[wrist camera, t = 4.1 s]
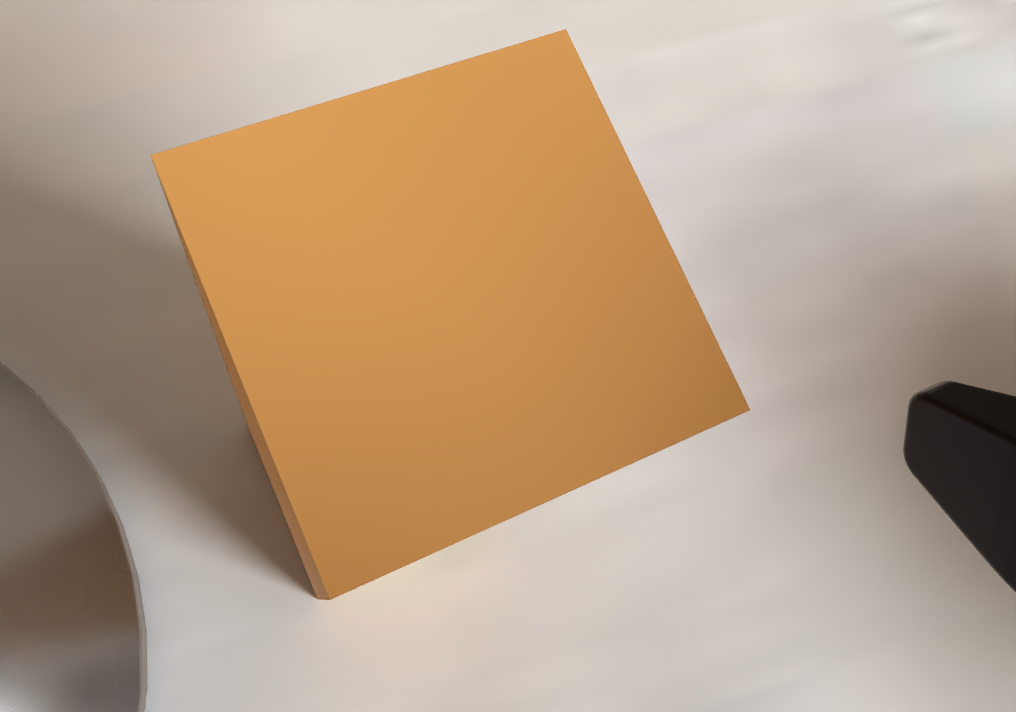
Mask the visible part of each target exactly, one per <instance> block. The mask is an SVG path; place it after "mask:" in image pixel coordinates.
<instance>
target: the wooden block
mask: <svg viewBox="0 0 1016 712" xmlns="http://www.w3.org/2000/svg"><path fill="white" fill-rule="evenodd" d="M151 158H152V161H153V164H154V166H155V169H156V172H157V175H158V177H159V180H160V183H161V186H162V189H163V191H164V194H165V197H166V200H167V202H168V205H169V208H170V211H171V214H172V216H173V219H174V222H175V225H176V227H177V230H178V233H179V236H180V239H181V241H182V244H183V247H184V250H185V253H186V255H187V258H188V261H189V264H190V266H191V269H192V272H193V275H194V278H195V280H196V283H197V286H198V289H199V291H200V294H201V297H202V300H203V303H204V305H205V308H206V311H207V314H208V316H209V319H210V322H211V325H212V328H213V330H214V333H215V336H216V339H217V342H218V344H219V347H220V350H221V353H222V355H223V358H224V361H225V364H226V367H227V369H228V372H229V375H230V378H231V380H232V383H233V386H234V389H235V392H236V394H237V397H238V400H239V403H240V405H241V408H242V411H243V414H244V417H245V419H246V422H247V425H248V427H249V430H250V432H251V435H252V437H253V440H254V442H255V445H256V447H257V450H258V452H259V455H260V457H261V460H262V462H263V465H264V467H265V470H266V472H267V475H268V477H269V480H270V482H271V485H272V487H273V490H274V492H275V495H276V497H277V500H278V502H279V505H280V507H281V510H282V512H283V515H284V517H285V520H286V522H287V525H288V527H289V530H290V532H291V535H292V537H293V539H294V542H295V544H296V547H297V549H298V552H299V554H300V557H301V559H302V562H303V564H304V567H305V569H306V572H307V574H308V577H309V579H310V582H311V584H312V587H313V589H314V592H315V594H316V597H317V599H323V600H331V599H333V598H335V597H337V596H339V595H342V594H344V593H346V592H348V591H350V590H353V589H355V588H357V587H359V586H362V585H364V584H366V583H368V582H370V581H373V580H375V579H377V578H379V577H381V576H384V575H386V574H388V573H390V572H393V571H395V570H397V569H399V568H401V567H404V566H406V565H408V564H410V563H412V562H415V561H417V560H419V559H421V558H424V557H426V556H428V555H430V554H432V553H435V552H437V551H439V550H441V549H443V548H446V547H448V546H450V545H452V544H455V543H457V542H459V541H461V540H463V539H466V538H468V537H470V536H472V535H474V534H477V533H479V532H481V531H483V530H486V529H488V528H490V527H492V526H494V525H497V524H499V523H501V522H503V521H505V520H508V519H510V518H512V517H514V516H517V515H519V514H521V513H523V512H525V511H528V510H530V509H532V508H534V507H536V506H539V505H541V504H543V503H545V502H547V501H550V500H552V499H554V498H556V497H559V496H561V495H563V494H565V493H567V492H570V491H572V490H574V489H576V488H578V487H581V486H583V485H585V484H587V483H590V482H592V481H594V480H596V479H598V478H601V477H603V476H605V475H607V474H609V473H612V472H614V471H616V470H618V469H621V468H623V467H625V466H627V465H629V464H632V463H634V462H636V461H638V460H640V459H643V458H645V457H647V456H649V455H652V454H654V453H656V452H658V451H660V450H663V449H665V448H667V447H669V446H671V445H674V444H676V443H678V442H680V441H683V440H685V439H687V438H689V437H691V436H694V435H696V434H698V433H700V432H702V431H705V430H707V429H709V428H711V427H714V426H716V425H718V424H720V423H722V422H725V421H727V420H729V419H731V418H733V417H736V416H738V415H740V414H742V413H745V412H747V411H749V410H750V409H749V407H748V404H747V402H746V400H745V398H744V396H743V394H742V392H741V390H740V388H739V386H738V384H737V382H736V380H735V378H734V376H733V373H732V371H731V369H730V367H729V365H728V363H727V361H726V359H725V357H724V355H723V353H722V351H721V349H720V347H719V345H718V343H717V340H716V338H715V336H714V334H713V332H712V330H711V328H710V326H709V324H708V322H707V320H706V318H705V316H704V314H703V312H702V309H701V307H700V305H699V303H698V301H697V299H696V297H695V295H694V293H693V291H692V289H691V287H690V285H689V283H688V281H687V278H686V276H685V274H684V272H683V270H682V268H681V266H680V264H679V262H678V260H677V258H676V256H675V254H674V252H673V250H672V248H671V245H670V243H669V241H668V239H667V237H666V235H665V233H664V231H663V229H662V227H661V225H660V223H659V221H658V219H657V217H656V214H655V212H654V210H653V208H652V206H651V204H650V202H649V200H648V198H647V196H646V194H645V192H644V190H643V188H642V186H641V184H640V181H639V179H638V177H637V175H636V173H635V171H634V169H633V167H632V165H631V163H630V161H629V159H628V157H627V155H626V153H625V150H624V148H623V146H622V144H621V142H620V140H619V138H618V136H617V134H616V132H615V130H614V128H613V126H612V124H611V122H610V119H609V117H608V115H607V113H606V111H605V109H604V107H603V105H602V103H601V101H600V99H599V97H598V95H597V93H596V91H595V89H594V86H593V84H592V82H591V80H590V78H589V76H588V74H587V72H586V70H585V68H584V66H583V64H582V62H581V60H580V58H579V55H578V53H577V51H576V49H575V47H574V45H573V43H572V41H571V39H570V37H569V35H568V33H567V31H566V29H565V30H562V31H558V32H555V33H552V34H549V35H545V36H542V37H539V38H535V39H532V40H529V41H525V42H522V43H519V44H516V45H512V46H509V47H506V48H502V49H499V50H496V51H492V52H489V53H486V54H483V55H479V56H476V57H473V58H469V59H466V60H463V61H459V62H456V63H453V64H450V65H446V66H443V67H440V68H436V69H433V70H430V71H426V72H423V73H420V74H417V75H413V76H410V77H407V78H403V79H400V80H397V81H394V82H390V83H387V84H384V85H380V86H377V87H374V88H370V89H367V90H364V91H361V92H357V93H354V94H351V95H347V96H344V97H341V98H337V99H334V100H331V101H328V102H324V103H321V104H318V105H314V106H311V107H308V108H304V109H301V110H298V111H295V112H291V113H288V114H285V115H281V116H278V117H275V118H271V119H268V120H265V121H262V122H258V123H255V124H252V125H248V126H245V127H242V128H238V129H235V130H232V131H229V132H225V133H222V134H219V135H215V136H212V137H209V138H206V139H202V140H199V141H196V142H192V143H189V144H186V145H182V146H179V147H176V148H173V149H169V150H166V151H163V152H159V153H156V154H153V155H151Z"/></svg>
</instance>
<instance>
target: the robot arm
mask: <svg viewBox="0 0 1016 712" xmlns="http://www.w3.org/2000/svg"><path fill="white" fill-rule="evenodd" d="M903 453H904V458H905V461H906V463H907V466H908V467H909V469H910V471H911V472H912V474H913V475H914V476H915V477H916V478H917V480H918V481H919V482H920V483H921V484H922V485H923V487H924V488H925V489H926V490H927V491H928V493H929V494H930V495H931V496H932V497H933V498H934V500H935V501H936V502H937V503H938V504H939V505H940V507H941V508H942V509H943V510H944V511H945V513H946V514H947V515H948V516H949V517H950V518H951V520H952V521H953V522H954V523H955V524H956V526H957V527H958V528H959V529H960V530H961V531H962V533H963V534H964V535H965V536H966V537H967V538H968V540H969V541H970V542H971V543H972V544H973V546H974V547H975V548H976V549H977V550H978V551H979V553H980V554H981V555H982V556H983V557H984V558H985V560H986V561H987V562H988V563H989V564H990V565H991V566H992V568H993V569H994V570H995V571H996V572H997V573H998V574H999V575H1000V576H1001V578H1002V579H1003V580H1004V581H1005V582H1006V583H1007V584H1008V585H1009V586H1010V587H1011V588H1012V589H1013V590H1014V591H1015V592H1016V396H1012V395H1007V394H1003V393H999V392H995V391H991V390H986V389H982V388H978V387H974V386H969V385H965V384H961V383H957V382H951V381H944V382H940V383H937V384H935V385H933V386H930V387H928V388H926V389H924V390H922V391H920V392H918V393H916V394H915V395H913V397H912V398H911V400H910V402H909V406H908V414H907V422H906V431H905V439H904V447H903Z"/></svg>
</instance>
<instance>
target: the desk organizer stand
mask: <svg viewBox="0 0 1016 712" xmlns="http://www.w3.org/2000/svg"><path fill="white" fill-rule="evenodd" d="M146 694H147V635H146V625H145V618H144V611H143V605H142V598H141V591H140V584H139V578H138V574H137V571H136V567H135V564H134V560H133V557H132V554H131V550H130V547H129V544H128V540H127V537H126V533H125V530H124V527H123V524H122V522H121V520H120V518H119V515H118V513H117V511H116V509H115V507H114V505H113V502H112V500H111V498H110V496H109V494H108V492H107V489H106V487H105V485H104V483H103V481H102V478H101V477H100V475H99V474H98V472H97V471H96V469H95V468H94V466H93V464H92V463H91V461H90V460H89V458H88V457H87V455H86V454H85V452H84V451H83V449H82V447H81V446H80V444H79V443H78V441H77V440H76V438H75V437H74V435H73V434H72V433H71V432H70V430H69V429H68V428H67V427H66V426H65V425H64V424H63V422H62V421H61V420H60V419H59V418H58V417H57V416H56V414H55V413H54V412H53V411H52V410H51V409H50V408H49V406H48V405H47V404H46V403H45V402H44V401H43V400H42V398H41V397H40V396H39V395H38V394H37V393H35V392H34V391H33V390H32V389H31V388H30V387H28V386H27V385H26V384H25V383H24V382H23V381H22V380H20V379H19V378H18V377H17V376H16V375H15V374H13V373H12V372H11V371H10V370H9V369H8V368H6V367H5V366H4V365H3V364H2V363H1V362H0V712H144V710H145V702H146Z"/></svg>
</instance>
